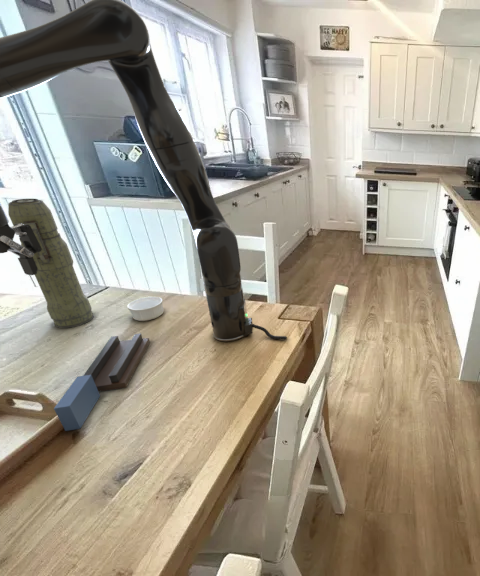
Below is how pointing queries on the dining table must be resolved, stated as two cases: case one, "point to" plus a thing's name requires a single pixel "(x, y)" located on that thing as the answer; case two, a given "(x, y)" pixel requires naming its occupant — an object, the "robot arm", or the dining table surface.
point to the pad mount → (117, 362)
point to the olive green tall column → (53, 265)
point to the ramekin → (146, 308)
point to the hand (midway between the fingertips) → (8, 282)
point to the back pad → (77, 403)
